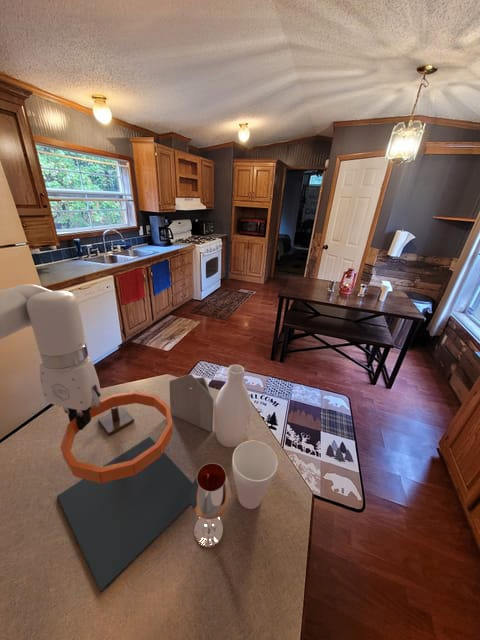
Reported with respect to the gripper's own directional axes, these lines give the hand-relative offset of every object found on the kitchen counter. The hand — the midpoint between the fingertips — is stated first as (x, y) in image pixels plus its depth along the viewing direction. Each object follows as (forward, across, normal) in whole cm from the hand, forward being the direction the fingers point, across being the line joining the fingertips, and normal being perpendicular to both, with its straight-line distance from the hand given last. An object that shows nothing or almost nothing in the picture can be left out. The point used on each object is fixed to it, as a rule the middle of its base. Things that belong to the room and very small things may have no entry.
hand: (81, 424), depth 57 cm
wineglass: (+19, +32, -4) cm, 37 cm away
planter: (+19, +18, +27) cm, 38 cm away
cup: (+19, +39, +5) cm, 44 cm away
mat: (+19, +11, -2) cm, 22 cm away
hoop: (+1, +10, 0) cm, 10 cm away
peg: (+19, -6, +18) cm, 27 cm away
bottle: (+19, +31, +22) cm, 42 cm away
